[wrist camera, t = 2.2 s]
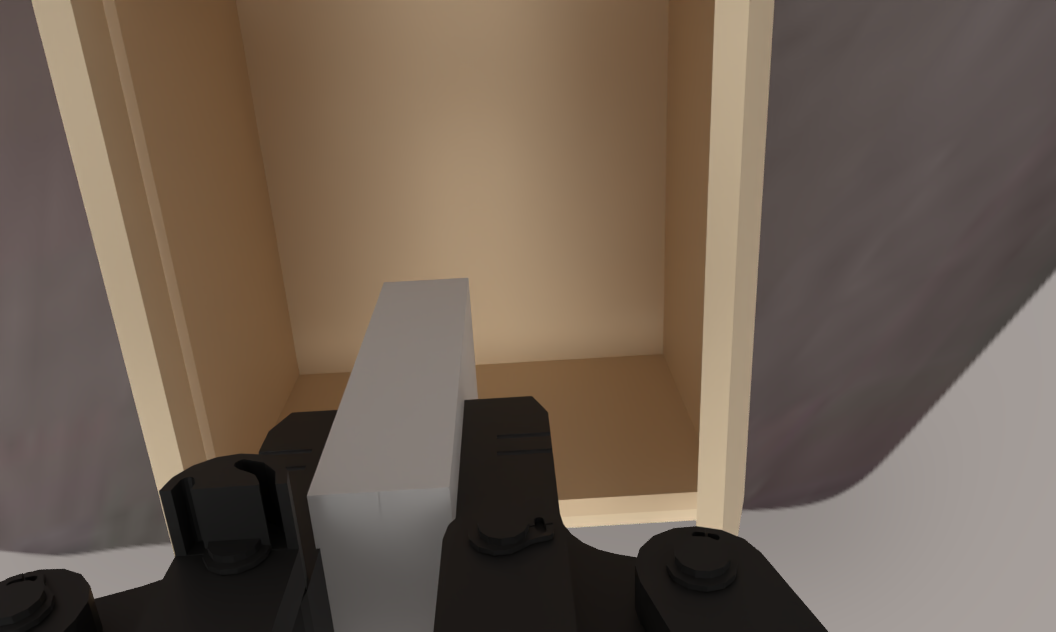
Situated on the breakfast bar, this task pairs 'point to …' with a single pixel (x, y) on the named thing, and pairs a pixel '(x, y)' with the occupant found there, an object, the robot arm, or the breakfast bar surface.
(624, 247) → the carton
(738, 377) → the flap
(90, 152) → the flap
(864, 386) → the breakfast bar surface
